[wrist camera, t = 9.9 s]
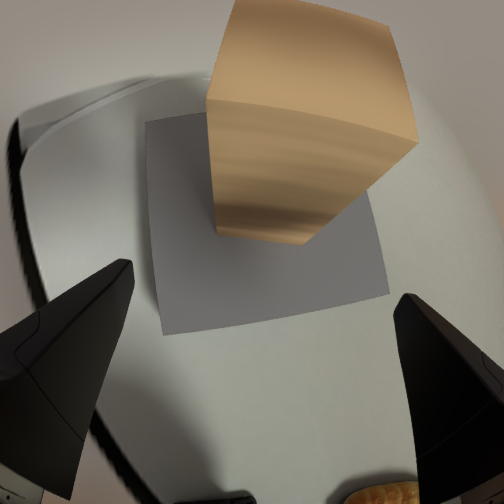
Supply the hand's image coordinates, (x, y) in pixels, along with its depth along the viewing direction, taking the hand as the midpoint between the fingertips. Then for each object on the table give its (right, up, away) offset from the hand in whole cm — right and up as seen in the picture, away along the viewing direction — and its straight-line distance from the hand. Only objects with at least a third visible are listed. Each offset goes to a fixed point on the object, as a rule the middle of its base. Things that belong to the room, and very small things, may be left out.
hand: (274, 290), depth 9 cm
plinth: (0, +4, +12) cm, 12 cm away
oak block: (0, +4, +9) cm, 10 cm away
